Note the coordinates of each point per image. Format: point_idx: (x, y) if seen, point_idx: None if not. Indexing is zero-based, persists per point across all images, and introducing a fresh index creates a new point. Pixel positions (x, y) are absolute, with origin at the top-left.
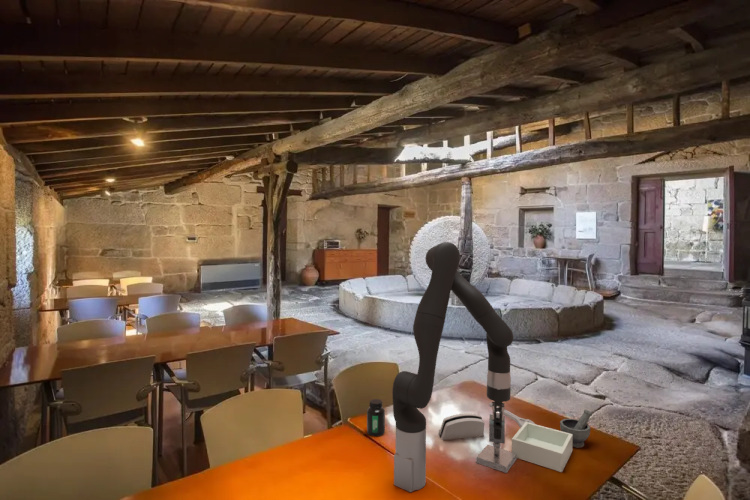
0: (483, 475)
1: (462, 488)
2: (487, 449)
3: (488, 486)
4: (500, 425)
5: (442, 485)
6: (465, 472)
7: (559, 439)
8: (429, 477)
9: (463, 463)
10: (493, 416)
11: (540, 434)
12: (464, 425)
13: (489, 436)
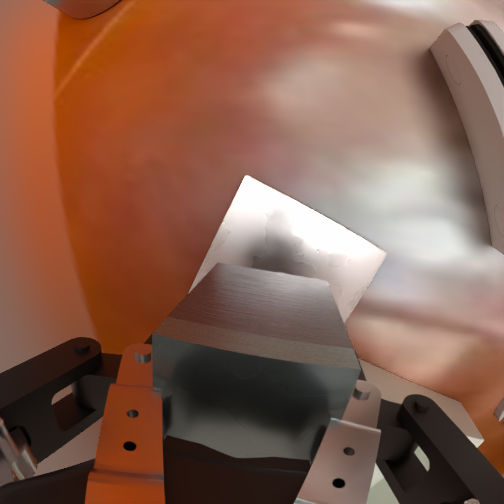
0: (154, 201)
1: (73, 125)
2: (334, 244)
3: (94, 215)
4: (59, 402)
5: (84, 62)
6: (163, 126)
7: (383, 496)
8: (123, 15)
9: (234, 115)
10: (107, 410)
11: (427, 460)
12: (491, 135)
13: (208, 274)
